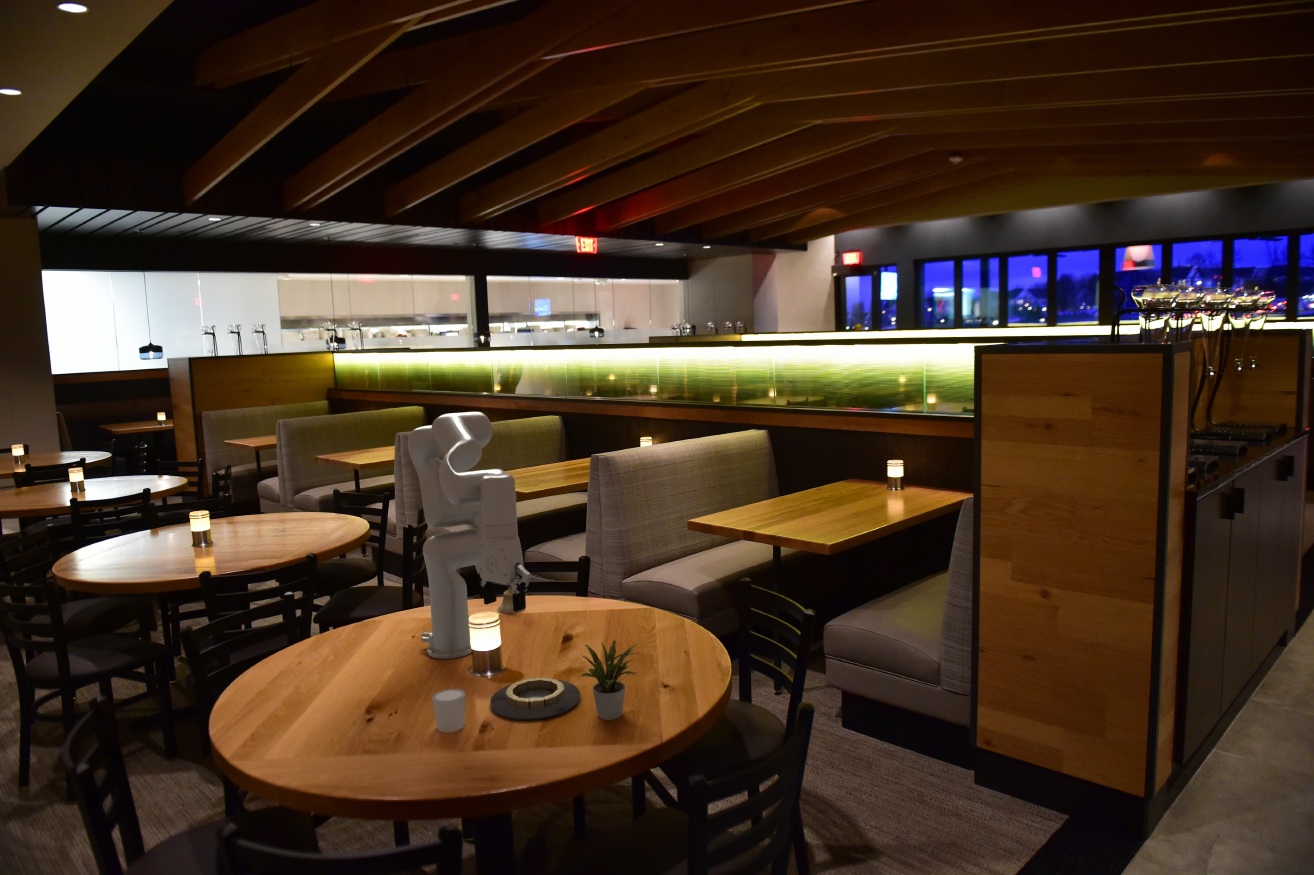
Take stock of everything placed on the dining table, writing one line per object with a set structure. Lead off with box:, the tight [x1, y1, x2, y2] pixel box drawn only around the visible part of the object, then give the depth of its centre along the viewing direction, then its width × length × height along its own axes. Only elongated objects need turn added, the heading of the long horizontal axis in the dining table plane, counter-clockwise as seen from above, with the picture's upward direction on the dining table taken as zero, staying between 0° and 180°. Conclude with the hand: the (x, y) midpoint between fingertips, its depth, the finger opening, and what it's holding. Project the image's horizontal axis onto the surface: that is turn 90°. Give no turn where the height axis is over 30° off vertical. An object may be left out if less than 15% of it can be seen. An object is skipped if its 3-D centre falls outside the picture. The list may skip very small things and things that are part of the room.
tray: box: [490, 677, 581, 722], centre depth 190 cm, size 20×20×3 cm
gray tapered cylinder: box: [431, 688, 467, 734], centre depth 179 cm, size 7×7×7 cm
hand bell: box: [497, 584, 526, 614], centre depth 256 cm, size 8×8×16 cm
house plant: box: [579, 639, 641, 721], centre depth 180 cm, size 14×14×16 cm
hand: (504, 606), depth 186 cm, fingers open, 9 cm apart
